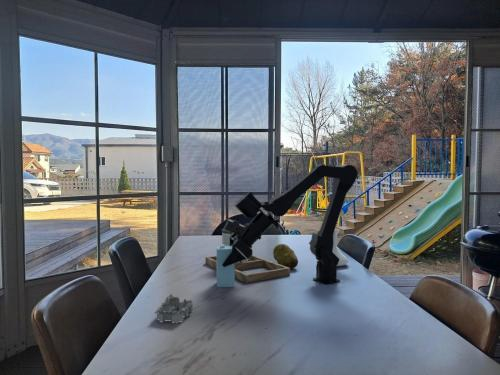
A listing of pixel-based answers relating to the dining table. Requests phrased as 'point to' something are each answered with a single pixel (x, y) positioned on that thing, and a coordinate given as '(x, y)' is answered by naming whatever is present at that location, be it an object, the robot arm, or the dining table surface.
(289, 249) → the potato
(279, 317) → the dining table surface
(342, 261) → the flower in vase
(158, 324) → the dining table surface
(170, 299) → the egg carton
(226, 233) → the coffee can
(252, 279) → the light wood flat frame
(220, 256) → the milk carton
